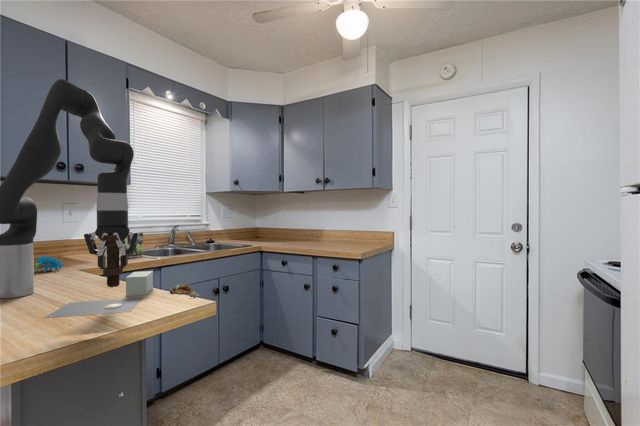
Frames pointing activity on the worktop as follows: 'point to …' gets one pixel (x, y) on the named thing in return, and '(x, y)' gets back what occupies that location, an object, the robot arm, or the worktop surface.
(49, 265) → the blue flower cluster
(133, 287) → the pale green block
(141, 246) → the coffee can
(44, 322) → the worktop surface
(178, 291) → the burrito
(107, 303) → the board
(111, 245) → the bolt
